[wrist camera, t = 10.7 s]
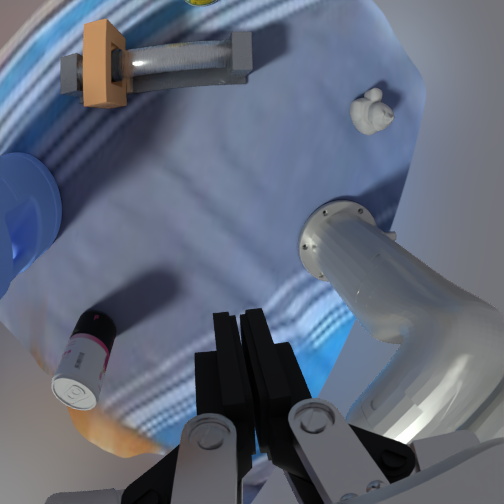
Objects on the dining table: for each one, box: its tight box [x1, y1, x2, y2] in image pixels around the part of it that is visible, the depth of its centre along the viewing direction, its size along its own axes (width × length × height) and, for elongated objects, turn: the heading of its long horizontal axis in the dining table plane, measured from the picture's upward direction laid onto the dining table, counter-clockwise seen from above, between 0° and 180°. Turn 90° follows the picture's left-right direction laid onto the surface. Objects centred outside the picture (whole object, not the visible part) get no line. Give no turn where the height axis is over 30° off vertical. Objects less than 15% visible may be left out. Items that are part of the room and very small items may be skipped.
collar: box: [83, 19, 127, 109], centre depth 27 cm, size 2×9×9 cm, turn 1°
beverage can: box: [52, 311, 116, 410], centre depth 38 cm, size 7×6×15 cm
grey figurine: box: [350, 88, 395, 135], centre depth 34 cm, size 5×7×8 cm
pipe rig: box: [61, 32, 253, 104], centre depth 29 cm, size 21×6×7 cm, turn 91°
